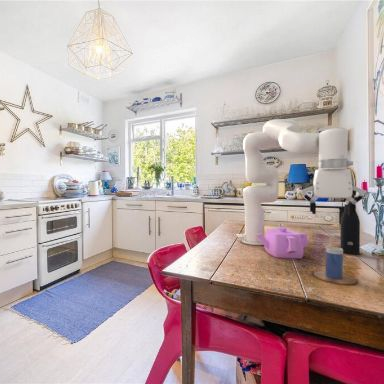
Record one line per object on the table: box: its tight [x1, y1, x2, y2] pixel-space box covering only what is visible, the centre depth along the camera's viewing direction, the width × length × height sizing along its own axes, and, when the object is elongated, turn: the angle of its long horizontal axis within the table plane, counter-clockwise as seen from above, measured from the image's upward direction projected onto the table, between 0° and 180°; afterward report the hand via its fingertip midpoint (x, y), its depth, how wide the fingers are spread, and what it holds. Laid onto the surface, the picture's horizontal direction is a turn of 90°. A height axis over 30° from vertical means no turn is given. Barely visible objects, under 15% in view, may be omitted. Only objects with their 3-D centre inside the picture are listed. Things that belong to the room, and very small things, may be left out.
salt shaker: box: [324, 246, 344, 280], centre depth 81 cm, size 5×5×10 cm
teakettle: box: [257, 226, 309, 260], centre depth 109 cm, size 17×17×12 cm
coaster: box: [313, 270, 357, 286], centre depth 81 cm, size 11×11×1 cm
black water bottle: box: [340, 190, 361, 256], centre depth 108 cm, size 6×6×30 cm
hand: (331, 214), depth 82 cm, fingers open, 9 cm apart
